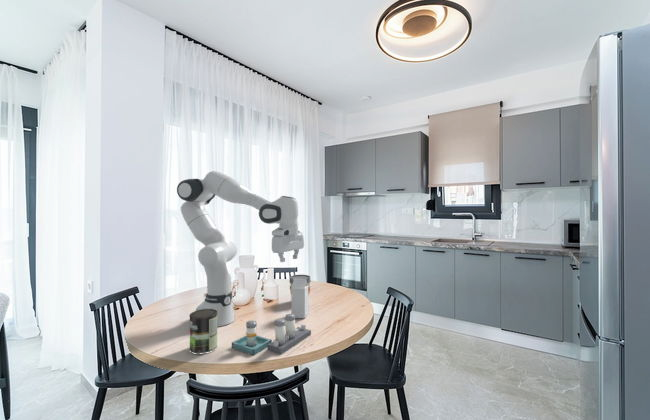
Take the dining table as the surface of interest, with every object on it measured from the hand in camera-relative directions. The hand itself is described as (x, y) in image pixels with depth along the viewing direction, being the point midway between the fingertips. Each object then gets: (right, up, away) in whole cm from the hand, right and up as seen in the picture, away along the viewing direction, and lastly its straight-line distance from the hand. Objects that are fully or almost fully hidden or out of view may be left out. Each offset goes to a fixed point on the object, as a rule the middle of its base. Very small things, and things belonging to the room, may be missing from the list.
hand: (289, 260), depth 136 cm
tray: (-13, -31, -19) cm, 39 cm away
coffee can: (-31, -32, -21) cm, 49 cm away
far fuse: (-1, -29, -21) cm, 36 cm away
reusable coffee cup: (+2, -31, +36) cm, 48 cm away
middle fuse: (+2, -29, -15) cm, 33 cm away
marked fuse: (-13, -31, -19) cm, 38 cm away
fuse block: (+2, -31, -15) cm, 35 cm away
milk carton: (+4, -31, +14) cm, 35 cm away
